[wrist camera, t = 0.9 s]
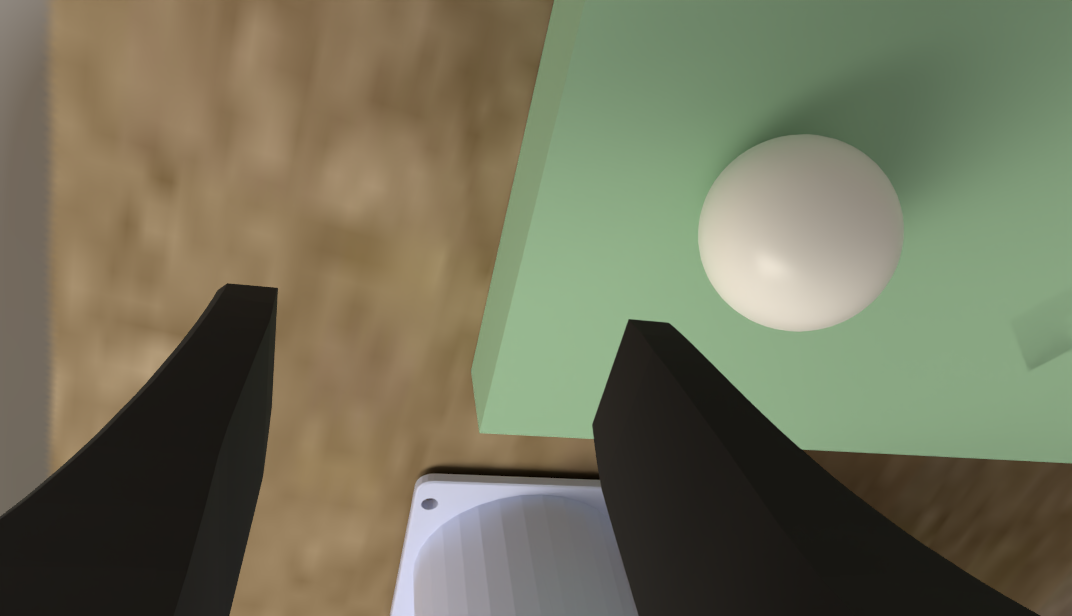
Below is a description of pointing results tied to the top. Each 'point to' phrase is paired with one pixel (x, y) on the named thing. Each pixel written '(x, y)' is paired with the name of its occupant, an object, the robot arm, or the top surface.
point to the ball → (800, 232)
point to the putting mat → (779, 110)
